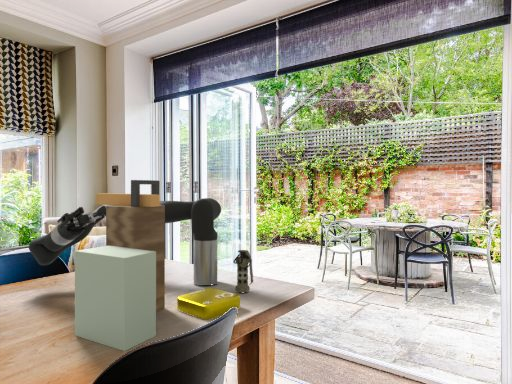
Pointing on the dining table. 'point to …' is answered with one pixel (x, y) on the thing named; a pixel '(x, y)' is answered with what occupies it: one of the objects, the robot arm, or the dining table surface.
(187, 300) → the element tile
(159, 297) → the walnut post
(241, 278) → the olive stun grenade
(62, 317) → the dining table surface
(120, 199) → the bar
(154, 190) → the dark gray square arch
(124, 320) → the sage green upright block
